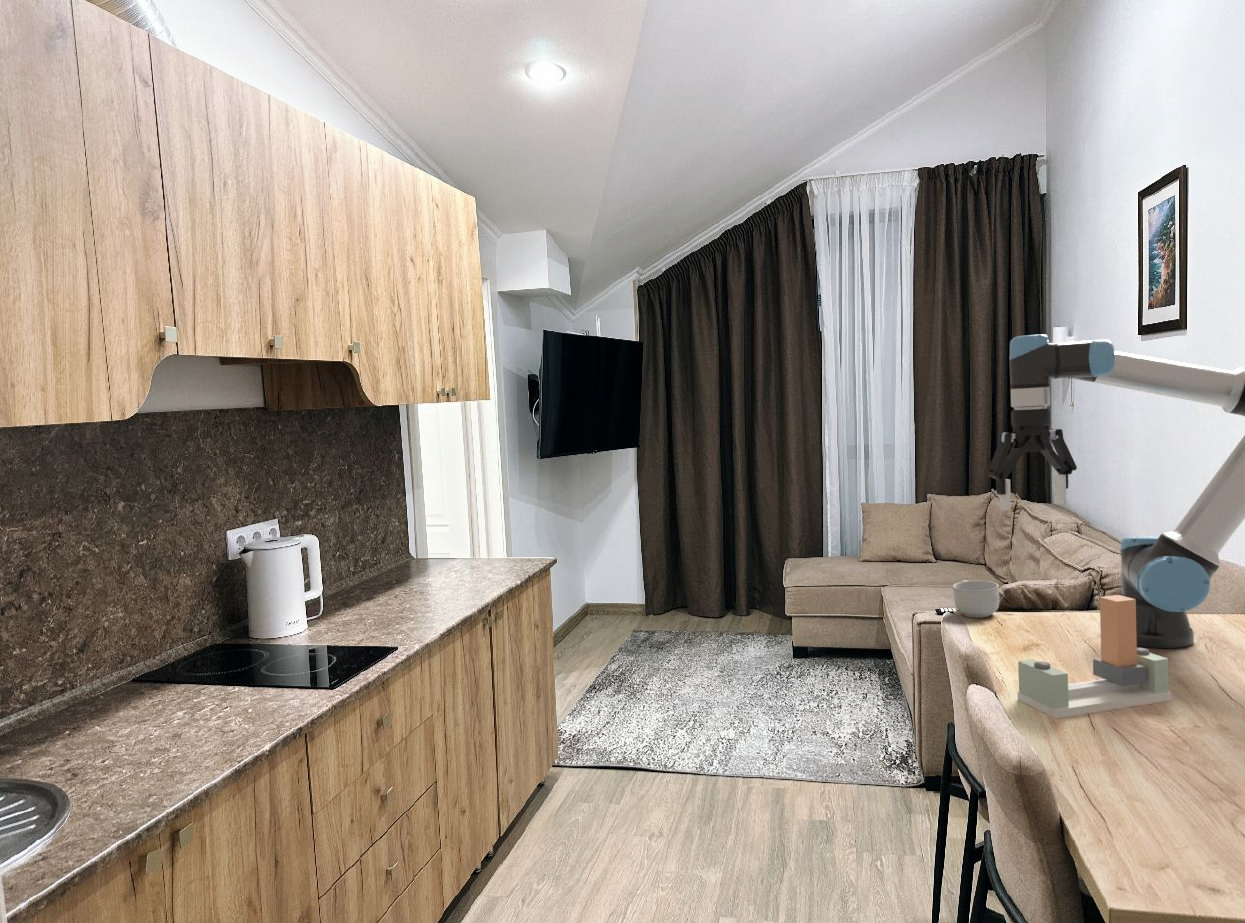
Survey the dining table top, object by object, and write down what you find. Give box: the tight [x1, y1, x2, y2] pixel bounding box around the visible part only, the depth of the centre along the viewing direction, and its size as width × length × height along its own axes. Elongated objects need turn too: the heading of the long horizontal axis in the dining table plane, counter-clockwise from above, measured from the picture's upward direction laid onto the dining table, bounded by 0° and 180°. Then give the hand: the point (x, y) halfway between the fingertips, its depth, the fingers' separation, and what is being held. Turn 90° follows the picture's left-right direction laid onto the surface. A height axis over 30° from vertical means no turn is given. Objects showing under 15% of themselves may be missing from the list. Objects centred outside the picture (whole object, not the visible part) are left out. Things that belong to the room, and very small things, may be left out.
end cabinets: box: [1017, 647, 1170, 709], centre depth 155 cm, size 24×9×7 cm, turn 102°
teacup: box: [952, 579, 1000, 619], centre depth 218 cm, size 14×11×8 cm
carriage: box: [1092, 594, 1146, 686], centre depth 156 cm, size 5×7×15 cm
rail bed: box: [1016, 678, 1172, 720], centre depth 155 cm, size 24×10×3 cm, turn 103°
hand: (1033, 507), depth 183 cm, fingers open, 13 cm apart
